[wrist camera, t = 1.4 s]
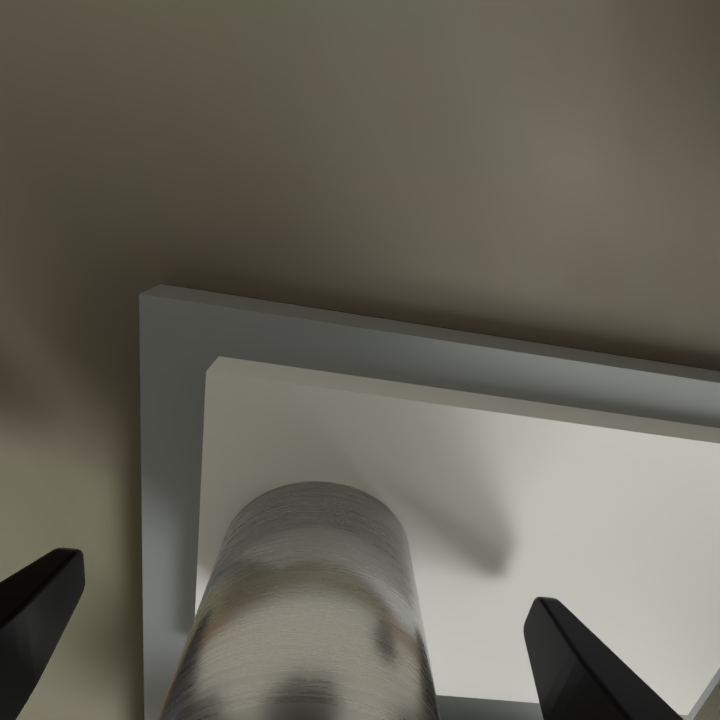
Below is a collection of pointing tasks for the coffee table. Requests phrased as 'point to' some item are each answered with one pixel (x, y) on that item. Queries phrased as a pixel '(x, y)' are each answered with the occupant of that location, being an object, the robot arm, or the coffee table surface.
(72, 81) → the coffee table surface
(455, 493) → the scale
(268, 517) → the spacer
